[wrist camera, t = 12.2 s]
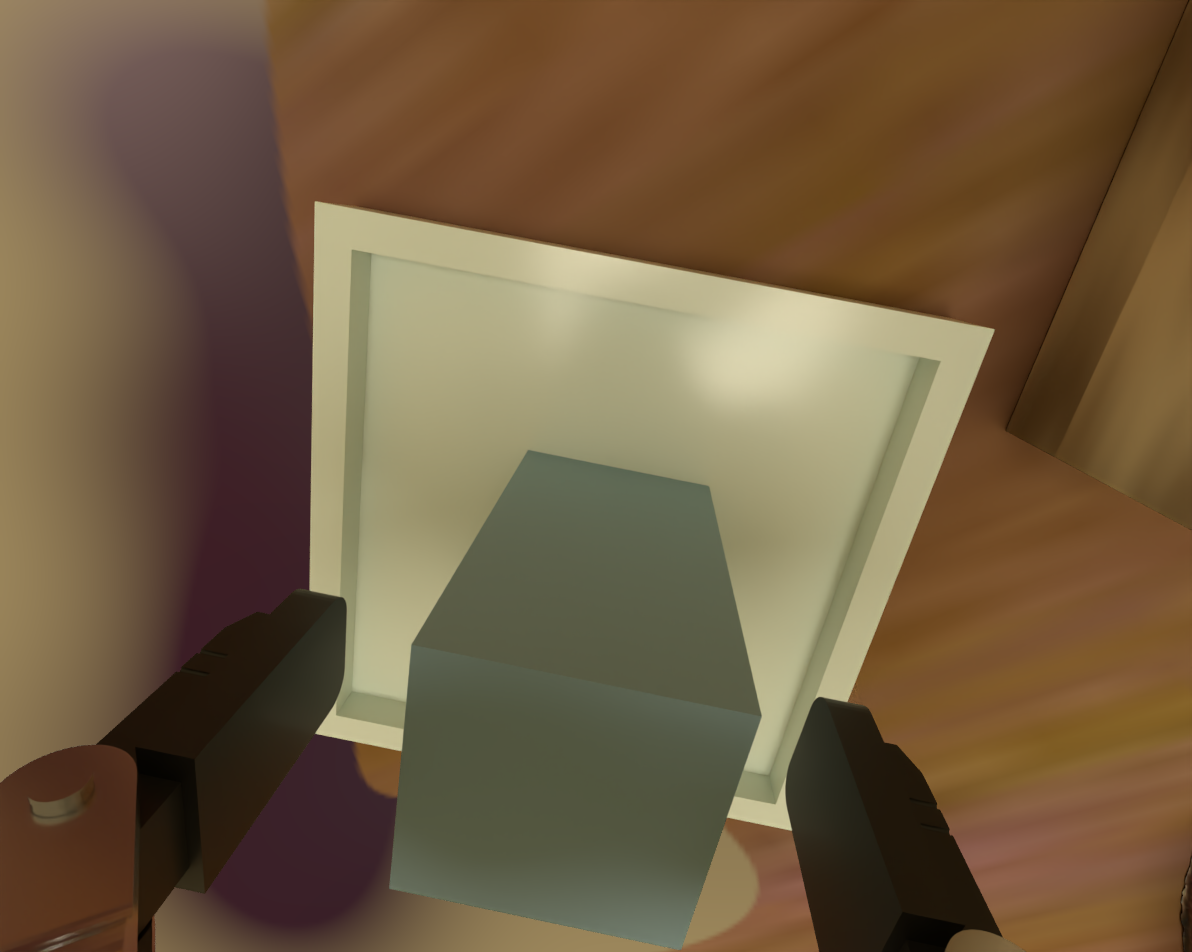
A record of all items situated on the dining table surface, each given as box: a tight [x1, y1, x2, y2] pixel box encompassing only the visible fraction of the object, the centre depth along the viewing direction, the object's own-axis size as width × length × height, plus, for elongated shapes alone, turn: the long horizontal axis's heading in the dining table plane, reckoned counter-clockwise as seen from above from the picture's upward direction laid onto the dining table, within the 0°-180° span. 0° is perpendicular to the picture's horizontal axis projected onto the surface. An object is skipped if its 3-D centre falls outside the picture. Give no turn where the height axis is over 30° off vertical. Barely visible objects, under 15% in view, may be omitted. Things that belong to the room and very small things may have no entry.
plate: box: [310, 201, 995, 831], centre depth 16 cm, size 14×14×2 cm
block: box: [389, 450, 762, 950], centre depth 13 cm, size 4×4×8 cm
